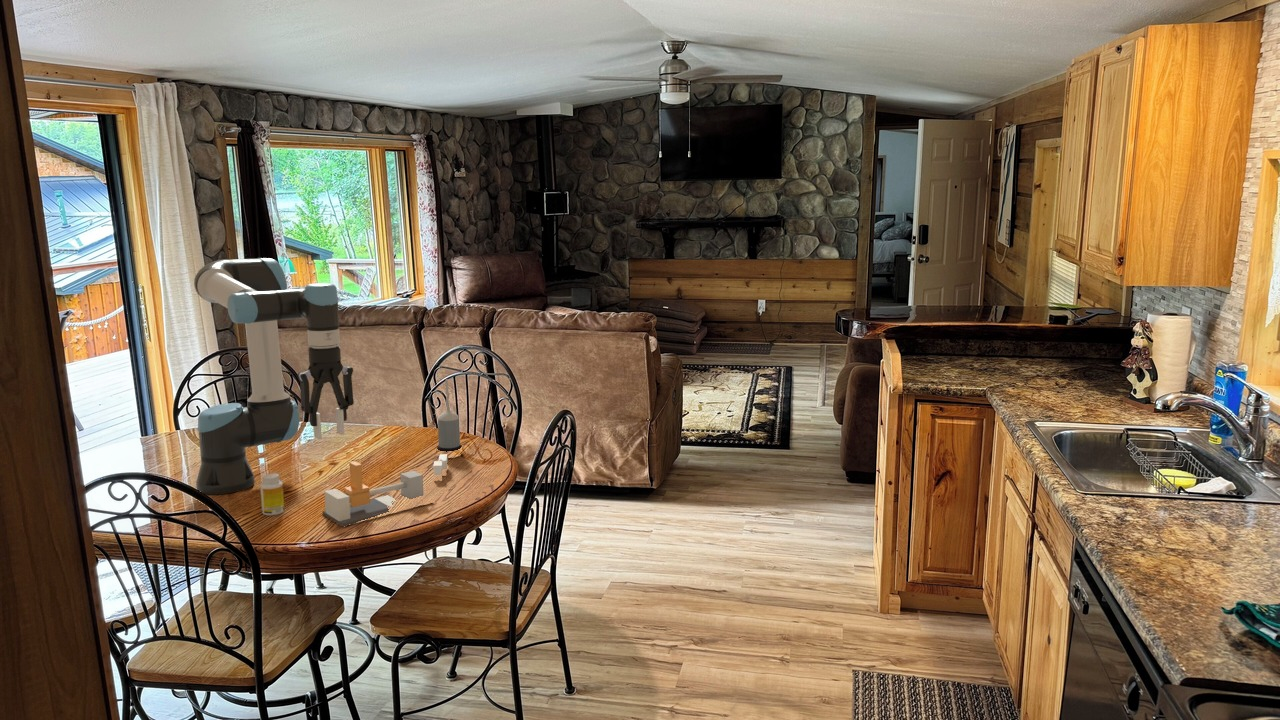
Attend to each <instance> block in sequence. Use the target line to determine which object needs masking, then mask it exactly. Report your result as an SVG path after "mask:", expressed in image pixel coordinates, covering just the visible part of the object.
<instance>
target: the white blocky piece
mask: <svg viewBox="0 0 1280 720" xmlns="http://www.w3.org/2000/svg"><path fill="white" fill-rule="evenodd" d="M448 462H449V461H448V458H447V454H440V455H439V457H438V460H434V462H433V465H432V466H433V468H432V469H433V476H434V475H440V474H442V470H443V469H447V463H448Z"/></svg>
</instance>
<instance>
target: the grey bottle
mask: <svg viewBox="0 0 1280 720" xmlns="http://www.w3.org/2000/svg"><path fill="white" fill-rule="evenodd" d="M448 381H449V379H445V394H446V397H445V406H446V407H445V408H446V410H444V411H443V412H442V413H441V414H440V415H439V416H438V418H437V432H438V436H437V438H438V445H436V450H437V449H438V450H440V451H446V452H447V451H454V450H458V449H460V448H461V447H462V448H463V445H462V444H461V439H460V437H461V435H460V434H461V432H460V428H461V427H460V417H459V416H458V414H457V413H456V412H454V411H453V410H451V408H450V391H449V382H448ZM451 385H452V386H451V387H452V388H451V389H452V390H451V392H453V384H451ZM451 394H452V400H455V399H454V398H455V397H454V395H453V393H451Z"/></svg>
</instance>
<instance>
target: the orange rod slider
mask: <svg viewBox="0 0 1280 720" xmlns="http://www.w3.org/2000/svg"><path fill="white" fill-rule="evenodd" d="M349 476H350V478H349V480H350V482H349V483H350V486H346V487H344V488H343V490H344V492H343V493H344V494H346V495H350V501H349V502H350V505H351V507H352V508H353V507H357V506H361V505H365V504H369V503H370V499H371V496H370V494H369V490H370V487H369V486H368V485H366V484H364V483H363V467H362V463H360V462H358V461H356V460H355V461H350V462H349Z"/></svg>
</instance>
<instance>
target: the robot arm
mask: <svg viewBox="0 0 1280 720" xmlns="http://www.w3.org/2000/svg"><path fill="white" fill-rule="evenodd" d="M193 283H194V289H195V292H196V293H197V295H198V296H199V297H200V298H201V299H203V300H205V301H207V302H208V303H213V304H219V305H220V306H223V307H224V308H226V309H227V313H228V315H229V318H230V320H231V322H233V323H234V324H244V325H245V334H246V335H245V336H246V345H247V355H248V365H249V375H250V384H251V395H250V396H249V397H248V398H247V400H246V402H247V406H245V407H244V406H243V405H242V404H241V403H239V402H231V403H230V402H229V403H221V404H217V405H216V404H215V405H214V406H210V407H207V408H205V409H203V410H202V411H201V412H199V414H198V417H197V431H198V440H199V452H200V466H199V469H198V473H197V478H196V481H195V483H196V484H195V485H196V491H197V490H199V491H201V492H202V493H201V494H205V495H226V494H232V493H233V494H234V493H237V492H241V491H245V490H247V489H249V488H251V487H253V486H254V485H255V483H256V481H255V475H254V472H253V470H252V467H251V465H250V463H249V461H248V459H247V452H246V451H247V450H246V448H250V447H257V446H262V445H268V444H273V443H274V444H275V443H277V444H278V443H281V442H286V441H290V440H292V439H293V438H294V437H296V434H297V433H298V430H299V426H300V410H299V406H298V404H297V402H296V401H295V400H292V399H291V396H290V394H288V393H287V392H286V391H285V389H284V379H283V378H284V376H283V370H282V369H283V368H282V359H281V358H282V357H281V348H280V339H279V338H280V337H279V328H278V321H285V320H299V319H306V330H307V331H306V332H307V345H309V347H308V363H309V366H308V368H307V370H306V371H304V372H298V373H297V378H298V380H299V382H300V385H299V386H300V387H299V388H300V409H301V411H302V412H304V413H308V414H309V425H310V426H311V427H313V434H314V435H313V437H314V439H315V438H316V439H317V440H321V439H323V436H322V422H321V413H320V412H318V409H319V406H320V405H319V403H320V401H321V400H320V399H321V395H322V390H323V387H324V385H325V384H327V383H329V384H330V385H331V389H332V391H333V393H334V397H335V399H336V404H337V405H338V407H336V408H335V420H336V421H335V422H336V433H337V434H339V435H341V436H343V435H345V422H346V421H347V419H348V417H347V414H348V412H347V410H348V409H349V407H350V406H353V405H354V403H355V402H354V392H353V389H354V388H353V372H354V368H353V367H351V366H348V365H347V366H345V365H343V364H342V361H341V359H342V356H341V355H342V353H341V346H340V344H341V340H340V323H339V322H340V320H339V319H340V318H339V317H340V316H339V296H338V290H337V287H336V285H335V284H334V283H327V282H325V283H324V282H318V283H316V282H315V283H309V284H307V285H306V286H303V287H301V286H300V287H298V286H297V287H294V288H293V289H288V283H287V277H286V275H285V272H284V270H283V267H282V266H281V264H280V263H279V261H278V260H276V259H273V258H270V257H268V258H267V257H263V258H262V257H257V258H254V257H253V258H240V259H239V258H238V259H237V258H235V259H218V260H214V261H212V262H210V263H209V262H208V263H207V264H205V265H204V266H202V267H201V268H200V269H199V270H198V271H197V273H196V274H195V276H194V282H193ZM340 374H342V382H343V389H342V387H341V382H340V379H339V375H340ZM310 376H311V377H312V378H313V382H312V386H313V387H312V390H311V394H310V382H309V380H310ZM310 395H311V396H310Z"/></svg>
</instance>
